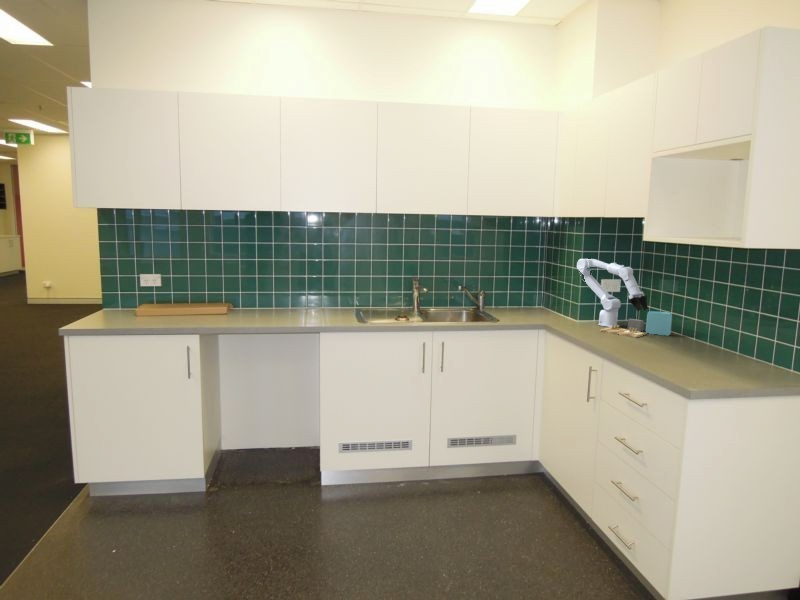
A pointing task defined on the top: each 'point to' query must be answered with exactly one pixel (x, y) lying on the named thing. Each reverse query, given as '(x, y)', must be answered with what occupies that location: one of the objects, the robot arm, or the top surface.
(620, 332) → the board
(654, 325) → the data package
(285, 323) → the top surface
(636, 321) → the block
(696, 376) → the top surface
